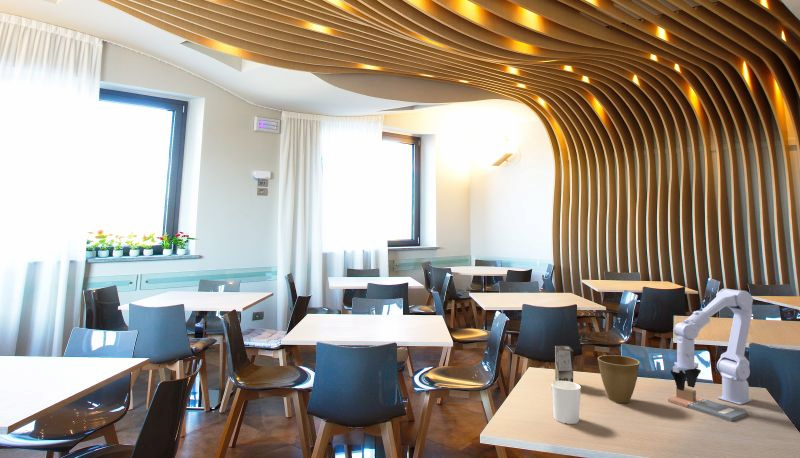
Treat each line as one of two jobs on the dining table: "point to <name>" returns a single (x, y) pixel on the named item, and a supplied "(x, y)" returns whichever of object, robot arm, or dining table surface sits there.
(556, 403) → the candle holder
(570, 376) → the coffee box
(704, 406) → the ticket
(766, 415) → the dining table surface
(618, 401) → the plant pot
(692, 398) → the stub
